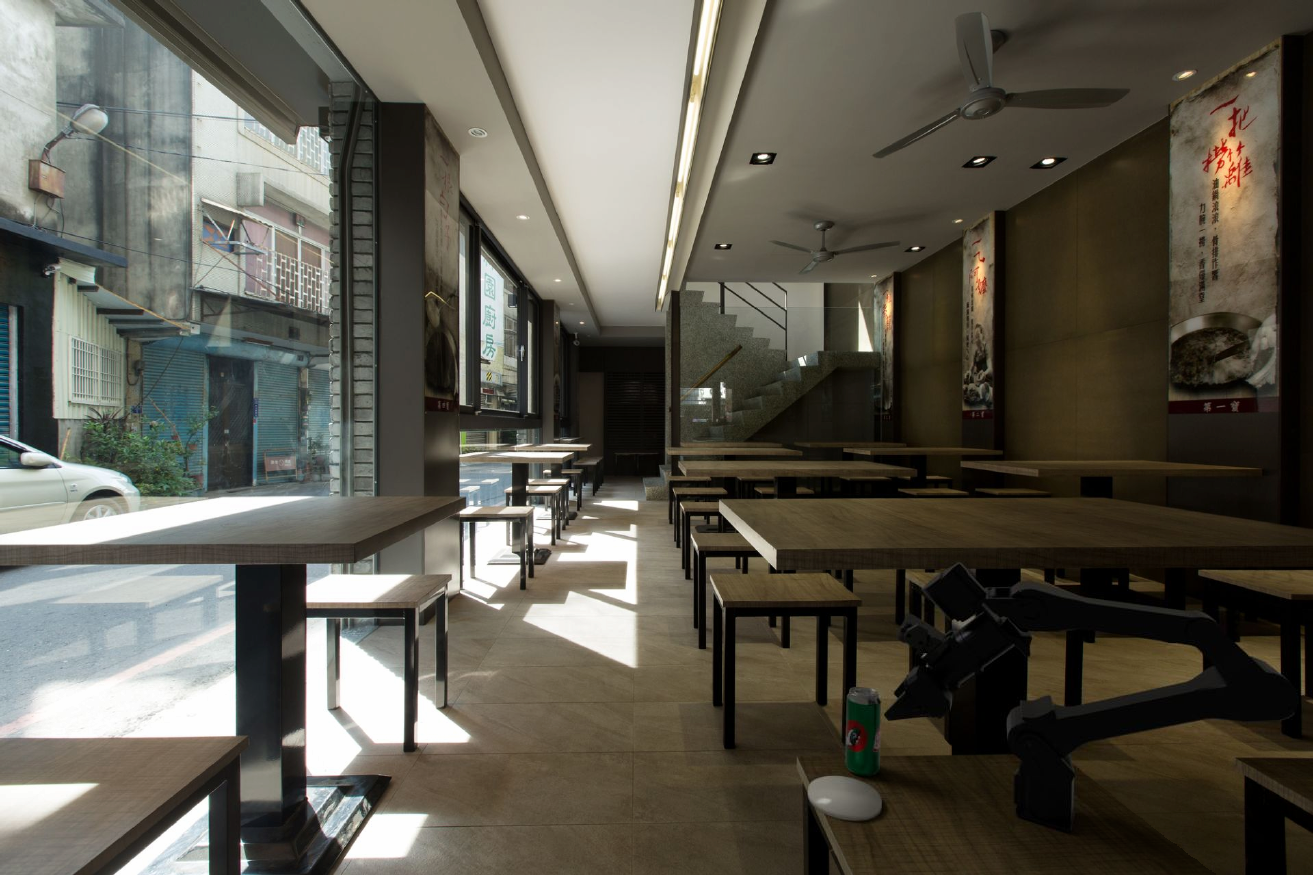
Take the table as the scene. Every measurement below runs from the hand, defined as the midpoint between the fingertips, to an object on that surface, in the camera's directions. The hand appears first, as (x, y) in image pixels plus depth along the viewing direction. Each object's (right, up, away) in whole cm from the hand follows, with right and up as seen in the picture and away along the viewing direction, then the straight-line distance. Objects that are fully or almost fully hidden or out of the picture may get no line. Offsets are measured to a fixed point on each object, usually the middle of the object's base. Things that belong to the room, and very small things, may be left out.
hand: (891, 706), depth 100 cm
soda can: (-4, -11, +2) cm, 12 cm away
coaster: (-9, -11, -7) cm, 15 cm away
